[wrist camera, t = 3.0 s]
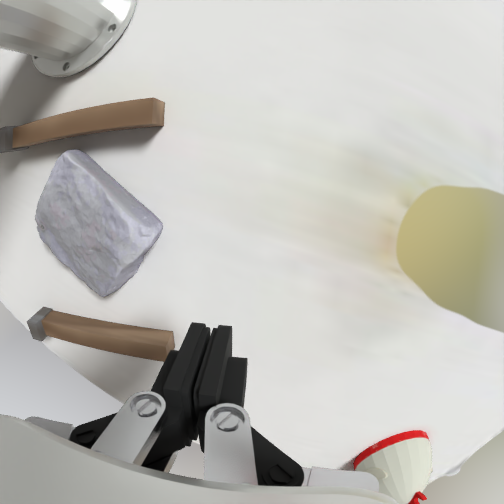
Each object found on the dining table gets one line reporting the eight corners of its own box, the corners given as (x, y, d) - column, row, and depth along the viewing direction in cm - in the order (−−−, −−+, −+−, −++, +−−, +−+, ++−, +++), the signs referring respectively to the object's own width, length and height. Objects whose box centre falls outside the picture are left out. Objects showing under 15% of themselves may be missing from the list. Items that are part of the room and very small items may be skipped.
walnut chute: (20, 128, 20) (-3, 130, 17) (164, 100, 20) (147, 92, 16) (48, 323, 28) (33, 338, 25) (175, 348, 28) (165, 371, 24)
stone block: (130, 285, 28) (176, 219, 23) (105, 313, 24) (146, 244, 19) (56, 214, 26) (84, 138, 21) (26, 232, 22) (46, 148, 17)
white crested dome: (338, 470, 37) (347, 539, 23) (387, 429, 32) (411, 510, 18) (394, 469, 38) (408, 527, 24) (441, 429, 33) (467, 493, 19)
